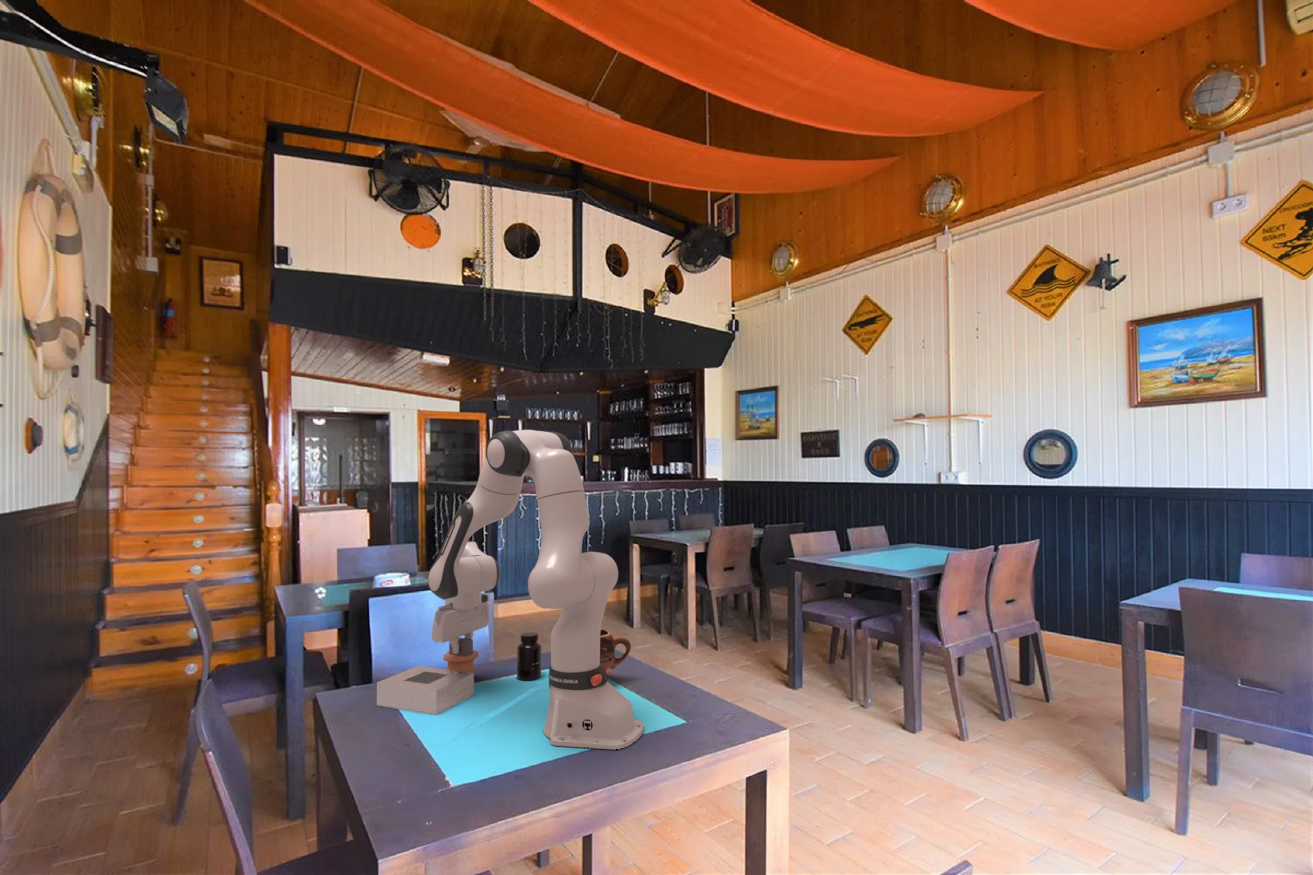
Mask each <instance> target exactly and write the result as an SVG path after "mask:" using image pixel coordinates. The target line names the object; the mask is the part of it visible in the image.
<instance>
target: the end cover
mask: <svg viewBox="0 0 1313 875" xmlns="http://www.w3.org/2000/svg"><path fill="white" fill-rule="evenodd" d="M448 643H449V644H448V646H449V647H448V649H449V650H448V652H445V653H444V654H443V656H442V659H443V661H445V662H447V670H454V671H462V672H470V673H474V671H475V660H476V659H477V658H478V657H479V651H477V650H475V649H474V640H473V638H472V639H466V638H465V637H463V638H462V637H459V641H458V644H459V646H461V652H460V653H458V654H453V652H452V646H451V644H450V642H449V641H448ZM474 674H475V673H474Z"/></svg>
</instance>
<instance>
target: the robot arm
mask: <svg viewBox="0 0 1313 875" xmlns="http://www.w3.org/2000/svg"><path fill="white" fill-rule="evenodd" d="M485 448H486V449H485V450H486V451H485V456H486V457H485V460H484V461H483V464H482V467H481V469H480V473H479V475H478V479H477V480H478V481H477V484H476V486H475V488H474V491H473V492H472V494H471V495H470V496H469V498H468V499H467V500H466V501H465V502H464V503H463V504H461V505H460V506H459V507H458V509H457V511H456V512H455V515H454V517H453V519H452V521H451V524H450V526H449V528H448V531H447V534H446V536H445V539H444V540H443V541H444V542H443V543H442V546H441V549H440V550H439V553H438V555H437V557H436V559H435V560H434V562H433V563H432V565H431V567H430V569H429V571H428V572H429V573H428V575H427V585H428V589H429V590H430V591H431V593H432V594H434V595H435V596H436V597H438V598H440V599H441V600H443V601H444V605H440V606H439V607H438V609H436V611H435V613H434V617H433V620H432V621H433V622H432V628H431V640H432V641H433V642H434V643H440V644H444V643H446V642H448V643H449V642H450V644H451V646H452V652H453V654H458V653H460V652H461V646H459V644H458V641H459V638H461V637H464V638H466V639H473V636H474V632H476V631H479V630H481V629H484V628H486V627H487V626H488V624H489V621H490V605H489V601H490V594H489V593H485V592H487V591H490V590H493V589H494V588H495V587H496V586H497V585H498V583H499V580H500V578H501V568H500V564H499V562H498V561H497V560H496V558H494V556H492V555H487V554H486V553H484V552H483V551H481V549H480V548H479V547H478V544H477V542H476V541H473V540H469V539H470V538H471V536H473V535H474V533H476V532H477V531H479V530H480V529H482V528H483V527H486V526H488V525H490V524H492V523H495V522H497V521H500V520H503V519H505V518H506V517H507V516H509V515H511V513H513V511H514V510H515V508H516V507H517V505H518V502H519V500H520V495H521V492H522V487H523V484H524V483H523V482H524V478H525V477H526V476H528V477H530V478H531V479H532V480H533V482H534V487H535V495H536V501H537V508H538V513H539V521H540V529H541V532H540V533H541V541H540V542H541V543H540V549H539V553H538V554H539V555H538V558H537V562H536V563H535V566H534V567H533V569H532V570H531V572H530V573H529V576H528V579H527V590H528V591H527V592H528V595H529V597H530V599H531V600H532V601H533V603H534V604H535V605H536V606H537V607H539V608H542V609H545V610H546V609H548V610H552V609H553V610H558V609H561V610H562V611H561V613H560V615H559V618H558V620H557V621H556V623H555V624H554V625H553V628H552V629H551V632H550V665H549V667H548V687H549V690H550V691H549V700H548V701H549V702H548V709H547V714H546V720H545V723H544V727H543V734H544V735H545V736H546V737H547V738H549V740H550V741H549V742H550V744H551V745H552V746H556V747H557V746H558V747H571V748H572V747H573V748H584V747H585V749H599V750H603V749H604V750H613V751H614V750H616V749H618V750H622V749H624V748H626V747H627V748H628V747H629V746H630V745H632V744H634V743H635V742H636V741H638V739H640V737H641V736H642V735H643V734H644V730H645V727H644V726H645V725H644V723H643V721H641V720H637V719H635V718H634V709H633V706H632V705H633V704H632V702H631V701H630V700H629V699H628V698H627V697H626V696H625V695H624V694H622V693H621V692H620V691H619V690H618V689H616V687H614V686H613V685H612V684H611V683H610V682H609V681H608V682H607V674H608V675H609V674H610V673H611V671H610V670H611V668H608V669H607V670H605V669H604V668H603V667H602V665H601V663H600V631H601V629H602V623H603V618H604V614H605V610H606V606H607V603H608V600H609V597H610V594H611V592H612V591H613V589H614V587H615V586H616V585H617V582H618V579H619V569H618V565H617V562H615V560H614V559H613V558H612V557H611V556H610V555H608V554H607V553H604V552H597V551H587V552H583V550H582V549H583V540H584V537H585V534H586V532H587V530H588V529H589V527H590V515H589V510H588V506H587V501H586V500H587V499H586V494H585V489H584V484H583V480H582V477H581V476H582V475H581V473H580V470H579V466H578V464H577V461H576V458H575V456H574V455H573V450H572V444H571V442H570V440H569V439H568V437H567V436H566V435H564V434H562V433H560V432H556V431H552V430H551V431H549V430H548V431H544V430H543V431H542V430H534V429H520V430H519V429H517V430H503V431H500V432H496V433H494V434H493V435H492V436H491V437H490V439H489V440H488V442H487V445H486V447H485ZM633 742H634V743H633ZM587 747H588V748H587ZM621 748H622V749H621Z"/></svg>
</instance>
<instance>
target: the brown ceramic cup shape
mask: <svg viewBox="0 0 1313 875" xmlns="http://www.w3.org/2000/svg"><path fill="white" fill-rule="evenodd" d="M618 645H624V647H625V652H624V653H623V655H622V656H621V657H619V658H618V657H616V656H615V652H616V651H615V650H616V646H618ZM631 645H632V644H631V642H630V641H629V639H628V638H627V637H624V636H621V635H619V636H618V635H617V636H612V633H611V632H610V631H609V630H606V629H602V628H601V631H600V663H601V665H602V667H603V668H604V669H605V670H607V669H608V668H610V670H614V669H615V668H616V667H618V666H619V665H621V664H622V663H623V662H624V661H625V660H626V658H627V657H628V655H629V654H630V652H631V648H632V646H631ZM608 680H609V674H607V682H609V681H608Z"/></svg>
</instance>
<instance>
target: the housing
mask: <svg viewBox="0 0 1313 875" xmlns="http://www.w3.org/2000/svg"><path fill="white" fill-rule="evenodd" d="M474 695H475V673H470V672H462V671H454V670H448V669H445V668H439V667H438V668H437V667H430V666H429V667H428V666H422V665H421V666H420V665H416V666H414V667H412V668H409V669H407V670H404V671H401V672H398V673H397V674H395V675H391V676H389V677H387V678H385V679H382V680H380V681H377V682H376V706H377V707H383V708H390V709H396V710H403V711H409V712H415V713H421V714H428V715H433V716H437V715H440V714H441V713H443V712H445V711H446V710H449V709H450V708H452V707H455V706H456V705H458V704H460V703H462V702H464V701H465V700H468V699H469V698H472V697H474Z"/></svg>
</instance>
